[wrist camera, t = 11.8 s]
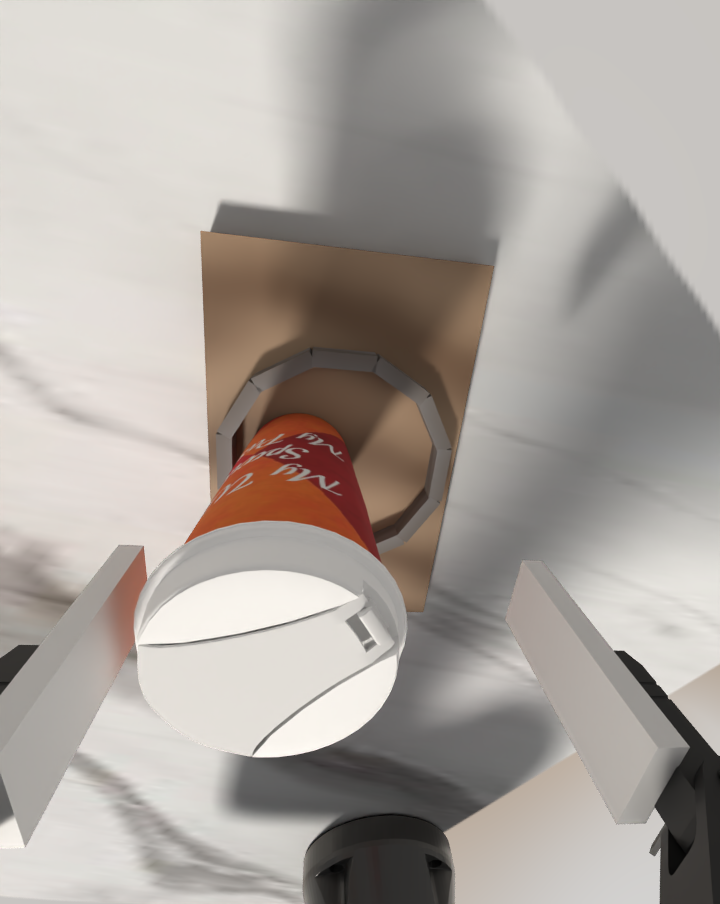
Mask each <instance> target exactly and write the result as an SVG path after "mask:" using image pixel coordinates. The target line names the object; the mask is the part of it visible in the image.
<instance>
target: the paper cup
mask: <svg viewBox="0 0 720 904" xmlns="http://www.w3.org/2000/svg"><path fill="white" fill-rule="evenodd" d="M406 634H407V612H406V608H405V604H404V600H403V596H402V594H401V592H400V590H399V588H398V585H397V583H396V581H395V580H394V578H393V577H392V576H391V574H390V573H389V571H388V570H387V569H386V567H385V566H384V565H383V564H382V562H381V559H380V556H379V552H378V549H377V545H376V542H375V539H374V535H373V531H372V527H371V523H370V520H369V516H368V512H367V508H366V505H365V502H364V499H363V496H362V493H361V490H360V487H359V484H358V481H357V478H356V475H355V471H354V468H353V465H352V462H351V458H350V456H349V453H348V450H347V447H346V445H345V443H344V441H343V439H342V437H341V436H340V434H339V433H338V432H337V430H336V429H335V428H334V427H333V426H332V425H330V424H329V423H328V422H326V421H325V420H323V419H321V418H319V417H316V416H313V415H309V414H303V413H292V414H286V415H282V416H279V417H277V418H275V419H273V420H271V421H270V422H268V423H267V424H265V425H264V426H263V427H262V428H261V429H260V430H259V431H258V432H257V434H256V435H255V436H254V437H253V439H252V440H251V442H250V443H249V444H248V446H247V447H246V449H245V450H244V452H243V453H242V455H241V456H240V458H239V459H238V461H237V463H236V464H235V466H234V467H233V469H232V470H231V472H230V473H229V475H228V476H227V478H226V480H225V481H224V483H223V484H222V486H221V487H220V489H219V491H218V492H217V494H216V495H215V497H214V498H213V500H212V502H211V503H210V505H209V506H208V508H207V509H206V511H205V512H204V514H203V516H202V517H201V519H200V520H199V522H198V523H197V525H196V527H195V528H194V530H193V531H192V533H191V534H190V536H189V538H188V539H187V541H186V542H185V544H184V545H182V546H181V547H179V548H177V549H176V550H175V551H174V552H173V553H171V554H170V555H169V556H168V557H167V558H165V559H164V560H163V561H162V562H161V563H160V564H159V565H158V567H157V568H156V569H155V570H154V571H153V573H152V574H151V575H150V576H149V578H148V580H147V582H146V583H145V585H144V587H143V589H142V591H141V593H140V595H139V598H138V601H137V605H136V608H135V613H134V635H135V641H136V648H137V652H138V660H137V667H138V678H139V684H140V687H141V690H142V693H143V695H144V698H145V699H146V701H147V702H148V703H149V705H150V706H151V708H152V709H153V710H154V711H155V712H156V714H157V715H158V716H159V717H160V718H161V719H162V720H163V721H164V722H166V723H167V724H168V725H169V726H171V727H172V728H173V729H175V730H176V731H177V732H178V733H180V734H182V735H184V736H185V737H187V738H189V739H190V740H192V741H194V742H197V743H199V744H202V745H204V746H207V747H209V748H213V749H217V750H221V751H225V752H229V753H234V754H239V755H244V756H249V757H250V756H252V757H260V758H261V757H282V756H290V755H297V754H301V753H306V752H310V751H314V750H317V749H320V748H323V747H326V746H329V745H331V744H333V743H335V742H337V741H339V740H342V739H344V738H346V737H347V736H349V735H350V734H352V733H354V732H355V731H357V730H358V729H360V728H361V727H362V726H363V725H364V724H366V723H367V722H368V721H369V720H370V719H371V718H372V717H373V716H374V715H375V714H376V713H377V712H378V711H379V709H380V708H381V707H382V706H383V704H384V702H385V701H386V699H387V697H388V696H389V694H390V692H391V690H392V687H393V684H394V682H395V679H396V677H397V671H398V665H399V658H400V656H401V653H402V651H403V648H404V645H405V640H406Z"/></svg>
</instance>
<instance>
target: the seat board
mask: <svg viewBox="0 0 720 904" xmlns="http://www.w3.org/2000/svg"><path fill="white" fill-rule="evenodd" d="M201 257H202V283H203V310H204V336H205V363H206V390H207V416H208V443H209V469H210V496H211V502H212V500H213V498H214V497H215V495H216V494H217V492H218V491H219V489H220V487H221V486H222V484H223V483H224V481H225V480H226V478H227V476H228V475H229V473H230V472H231V470H232V469H233V467H234V466H235V464H236V463H237V461H238V459H239V458H240V456H241V455H242V453H243V452H244V450H245V449H246V447H247V446H248V444H249V443H250V442H251V440H252V439H253V437H254V436H255V435H256V434H257V432H258V431H259V430H260V429H261V428H262V427H263V426H264V425H265V424H267V423H268V422H270V421H271V420H273V419H275V418H277V417H279V416H282V415H286V414H292V413H303V414H309V415H313V416H316V417H319V418H321V419H323V420H325V421H326V422H328V423H329V424H330V425H332V426H333V427H334V428H335V429H336V430H337V432H338V433H339V434H340V436H341V437H342V439H343V441H344V443H345V445H346V447H347V450H348V453H349V456H350V458H351V462H352V465H353V468H354V471H355V475H356V478H357V481H358V484H359V487H360V490H361V493H362V496H363V499H364V502H365V505H366V508H367V512H368V516H369V520H370V523H371V527H372V531H373V535H374V539H375V542H376V545H377V549H378V552H379V556H380V559H381V562H382V564H383V565H384V566H385V567H386V569H387V570H388V571H389V573H390V574H391V576H392V577H393V578H394V580H395V581H396V583H397V585H398V588H399V590H400V592H401V594H402V596H403V600H404V604H405V608H406V612H423V610H424V606H425V601H426V596H427V591H428V586H429V581H430V576H431V571H432V567H433V562H434V557H435V552H436V547H437V542H438V537H439V532H440V528H441V523H442V518H443V513H444V508H445V503H446V498H447V493H448V489H449V484H450V479H451V474H452V469H453V464H454V459H455V454H456V450H457V445H458V440H459V435H460V430H461V425H462V420H463V415H464V411H465V406H466V401H467V396H468V391H469V386H470V381H471V376H472V372H473V367H474V362H475V357H476V352H477V347H478V342H479V337H480V333H481V328H482V323H483V318H484V313H485V308H486V303H487V298H488V294H489V289H490V284H491V279H492V274H493V269H494V266H490V265H482V264H473V263H465V262H457V261H448V260H440V259H431V258H423V257H415V256H406V255H398V254H390V253H381V252H373V251H365V250H356V249H348V248H339V247H331V246H323V245H314V244H306V243H298V242H289V241H281V240H272V239H264V238H256V237H247V236H239V235H231V234H222V233H214V232H206V231H201Z"/></svg>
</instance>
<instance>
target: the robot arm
mask: <svg viewBox="0 0 720 904" xmlns="http://www.w3.org/2000/svg"><path fill="white" fill-rule="evenodd" d="M146 582H147V574H146V564H145V555H144V546H134V545H119V546H118V547H117V548H116V549H115V551H114V552H113V553H112V554H111V556H110V557H109V558H108V559H107V561H106V562H105V563H104V565H103V566H102V567H101V568H100V570H99V571H98V572H97V573H96V575H95V576H94V577H93V578H92V580H91V581H90V582H89V584H88V585H87V586H86V587H85V589H84V590H83V591H82V592H81V594H80V595H79V596H78V597H77V599H76V600H75V601H74V602H73V604H72V605H71V606H70V608H69V609H68V610H67V611H66V613H65V614H64V615H63V616H62V618H61V619H60V620H59V621H58V623H57V624H56V625H55V627H54V628H53V629H52V630H51V632H50V633H49V634H48V635H47V637H46V638H45V639H44V640H43V642H42V643H41V644H40V645H18V646H17V647H15V648H14V649H13V650H11V651H10V652H8V653H7V654H6V655H4V656H3V657H1V658H0V849H4V848H25V847H26V845H27V843H28V841H29V840H30V838H31V836H32V834H33V832H34V830H35V828H36V826H37V825H38V823H39V821H40V819H41V817H42V815H43V813H44V811H45V809H46V808H47V806H48V804H49V802H50V800H51V798H52V796H53V794H54V793H55V791H56V789H57V787H58V785H59V783H60V781H61V779H62V777H63V776H64V774H65V772H66V770H67V768H68V766H69V764H70V762H71V761H72V759H73V757H74V755H75V753H76V751H77V749H78V747H79V745H80V744H81V742H82V740H83V738H84V736H85V734H86V732H87V730H88V729H89V727H90V725H91V723H92V721H93V719H94V717H95V715H96V713H97V712H98V710H99V708H100V706H101V704H102V702H103V700H104V698H105V697H106V695H107V693H108V691H109V689H110V687H111V685H112V683H113V681H114V680H115V678H116V676H117V674H118V672H119V670H120V668H121V666H122V665H123V663H124V661H125V659H126V657H127V655H128V653H129V651H130V649H131V648H132V646H133V644H134V642H135V635H134V613H135V608H136V605H137V601H138V598H139V595H140V593H141V591H142V589H143V587H144V585H145V583H146ZM505 620H506V622H507V624H508V625H509V627H510V629H511V631H512V633H513V635H514V637H515V638H516V640H517V642H518V644H519V646H520V648H521V649H522V651H523V653H524V655H525V657H526V659H527V661H528V662H529V664H530V666H531V668H532V670H533V672H534V673H535V675H536V677H537V679H538V681H539V683H540V684H541V686H542V688H543V690H544V692H545V694H546V696H547V697H548V699H549V701H550V703H551V705H552V707H553V708H554V710H555V712H556V714H557V716H558V718H559V719H560V721H561V723H562V725H563V727H564V729H565V731H566V732H567V734H568V736H569V738H570V740H571V742H572V743H573V745H574V747H575V749H576V751H577V753H578V755H579V756H580V758H581V760H582V762H583V764H584V765H585V767H586V769H587V771H588V773H589V774H590V777H591V778H592V780H593V782H594V784H595V786H596V788H597V790H598V791H599V793H600V795H601V797H602V799H603V800H604V802H605V804H606V806H607V808H608V810H609V812H610V813H611V815H612V817H613V819H614V821H615V823H616V824H640V823H646V822H647V820H648V818H649V816H650V815H651V813H652V812H653V810H654V808H656V810H657V811H658V813H659V814H660V816H661V818H662V819H663V821H664V822H665V824H664V826H663V828H662V829H661V831H660V833H659V834H658V836H657V837H656V839H655V841H654V842H653V844H652V846H651V849H650V852H649V853H650V854H652V855H653V856H655V855H656V854H657V852H658V851H659V849H660V848H661V859H660V904H720V756H718V755H717V754H716V753H715V752H714V751H713V749H712V748H711V747H710V746H709V745H708V743H707V742H706V741H705V740H704V739H703V738H702V736H701V735H700V734H699V733H698V731H697V730H696V729H695V728H694V727H693V726H692V724H691V723H690V722H689V721H688V720H687V719H686V717H685V716H684V715H683V714H682V712H681V711H680V710H679V709H678V708H677V706H676V705H675V704H674V703H673V702H672V700H669V699H668V696H667V694H666V693H665V692H664V691H663V690H662V688H661V687H660V686H659V685H657V684H656V681H655V680H654V679H653V678H652V677H651V675H650V674H649V673H648V672H647V671H646V669H645V668H644V667H643V666H642V665H641V664H640V663H639V662H637V661H636V660H635V659H633V658H632V657H631V656H630V655H628V654H627V653H626V652H625V651H613V650H612V648H611V647H610V646H609V644H608V643H607V642H606V641H605V639H604V638H603V637H602V636H601V634H600V633H599V632H598V631H597V629H596V628H595V627H594V626H593V624H592V623H591V622H590V620H589V619H588V618H587V617H586V615H585V614H584V613H583V612H582V610H581V609H580V608H579V607H578V605H577V604H576V603H575V602H574V600H573V599H572V598H571V597H570V595H569V594H568V593H567V591H566V590H565V589H564V588H563V586H562V585H561V584H560V583H559V581H558V580H557V579H556V578H555V576H554V575H553V574H552V573H551V571H550V570H549V569H548V567H547V566H546V565H545V564H544V562H543V561H538V560H522V562H521V566H520V569H519V573H518V576H517V580H516V583H515V586H514V590H513V593H512V597H511V600H510V604H509V607H508V610H507V614H506V617H505ZM303 897H304V902H305V904H454V899H455V871H454V865H453V860H452V855H451V852H450V847H449V842H448V840H447V838H446V836H445V835H444V833H443V832H442V831H441V830H440V829H438V828H437V827H436V826H434V825H432V824H430V823H428V822H426V821H423V820H420V819H416V818H411V817H405V816H376V817H369V818H363V819H359V820H355V821H352V822H349V823H346V824H343V825H341V826H338V827H336V828H334V829H332V830H330V831H329V832H327V833H325V834H324V835H322V836H321V837H320V838H318V839H317V840H316V841H315V842H314V843H313V844H312V845H311V847H310V848H309V849H308V851H307V853H306V855H305V858H304V867H303Z"/></svg>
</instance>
